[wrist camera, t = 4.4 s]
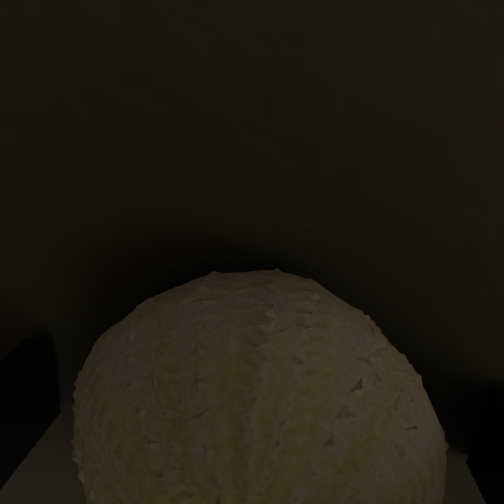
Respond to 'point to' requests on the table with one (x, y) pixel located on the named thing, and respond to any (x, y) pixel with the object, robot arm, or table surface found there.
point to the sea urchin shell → (253, 402)
